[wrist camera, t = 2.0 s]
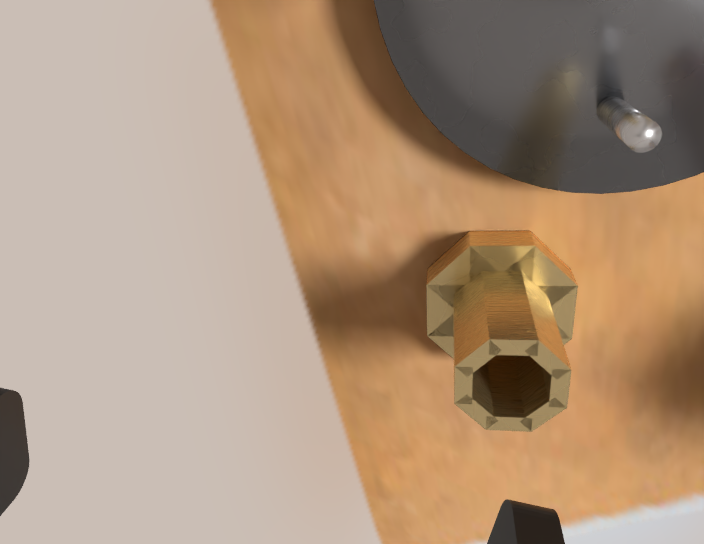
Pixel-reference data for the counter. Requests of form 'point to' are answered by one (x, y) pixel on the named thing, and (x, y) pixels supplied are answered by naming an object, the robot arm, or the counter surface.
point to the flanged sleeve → (504, 327)
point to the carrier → (559, 85)
